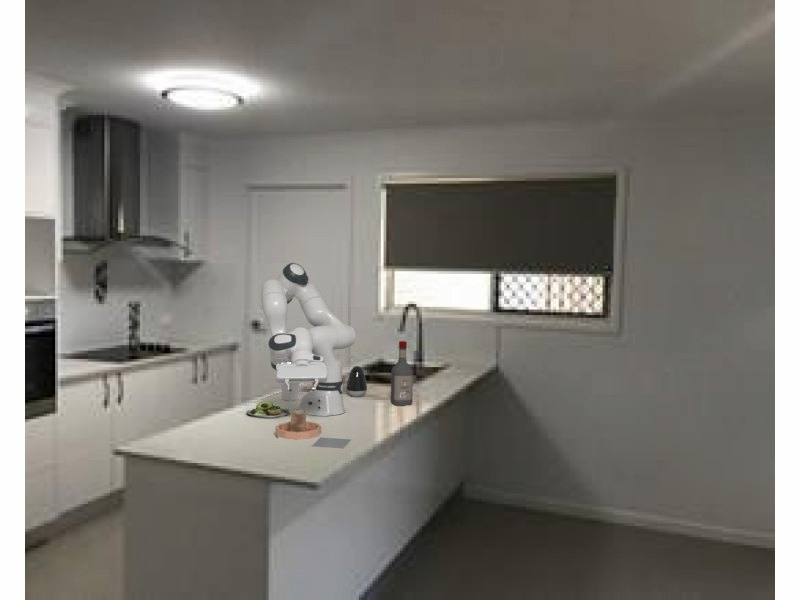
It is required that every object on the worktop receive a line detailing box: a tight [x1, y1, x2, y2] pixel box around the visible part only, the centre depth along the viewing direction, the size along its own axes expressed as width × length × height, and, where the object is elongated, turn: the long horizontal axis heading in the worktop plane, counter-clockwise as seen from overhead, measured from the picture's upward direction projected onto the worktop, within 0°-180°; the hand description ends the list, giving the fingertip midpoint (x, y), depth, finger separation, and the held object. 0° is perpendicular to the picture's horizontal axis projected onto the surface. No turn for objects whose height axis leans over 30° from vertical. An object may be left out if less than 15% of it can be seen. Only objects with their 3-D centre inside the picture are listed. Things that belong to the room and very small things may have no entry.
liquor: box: [390, 340, 414, 407], centre depth 314 cm, size 9×9×30 cm
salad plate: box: [245, 400, 291, 420], centre depth 289 cm, size 19×18×5 cm
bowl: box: [274, 421, 322, 440], centre depth 255 cm, size 17×17×4 cm
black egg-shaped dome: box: [346, 365, 368, 398], centre depth 330 cm, size 10×10×15 cm
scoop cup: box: [290, 409, 307, 432], centre depth 255 cm, size 6×6×9 cm
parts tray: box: [311, 437, 352, 449], centre depth 243 cm, size 12×12×1 cm
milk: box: [281, 383, 300, 402], centre depth 319 cm, size 6×6×22 cm
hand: (301, 390), depth 260 cm, fingers open, 8 cm apart
